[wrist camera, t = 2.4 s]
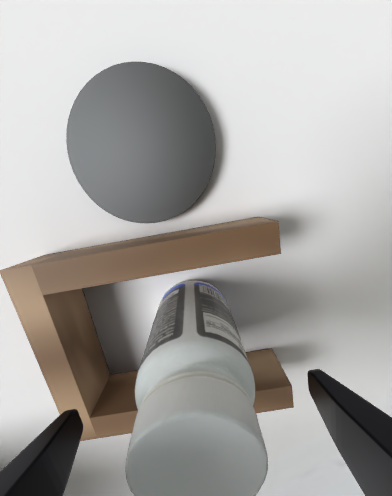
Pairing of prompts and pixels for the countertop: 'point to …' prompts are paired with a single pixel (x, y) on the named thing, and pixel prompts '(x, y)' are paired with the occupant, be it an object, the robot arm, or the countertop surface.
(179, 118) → the coaster
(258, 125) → the countertop surface
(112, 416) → the nook
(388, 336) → the countertop surface
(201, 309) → the pill bottle
